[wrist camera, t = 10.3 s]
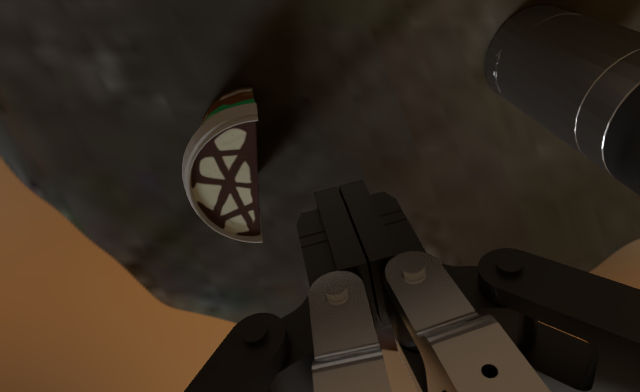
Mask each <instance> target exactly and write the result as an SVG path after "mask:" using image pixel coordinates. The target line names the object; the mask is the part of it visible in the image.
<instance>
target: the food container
mask: <svg viewBox="0 0 640 392" xmlns="http://www.w3.org/2000/svg"><path fill="white" fill-rule="evenodd" d="M256 121H258V112H257V104H256V103H255V100H254V95H253V90H252V87H245V88H238V89H236V90H233V91H231V92H228V93H225V94H223V95H222V96H221V97H220V98H218V99H217V100H216V101H215V102H214V103H212V104H211V106H210V107H209V109H208V111H207V112H206V114H205V116H204V117H203V121H202V124H201V127H200V128H199V129H198V130H197V131H196V133H195V134H194V135H193V136H192V138H191V140H190V142H189V144H188V145H187V148H186V151H185V154H184V157H183V163H182V178H183V182H184V187H185V190H186V193H187V196H188V199H189V201H190V203H191V206H192V207H193V209H194V210H195V212H196V213H197V214H198V216H199V217H200V218H201V219H202V220H203V221H204V222H205V223H206V224H207V225H208V226H209V227H211V228H212V229H213V230H215V231H216V232H218V233H220V234H222V235H224V236H226V237H229V238H231V239H234V240H238V241H242V242H251V243H263V240H262V231H261V221H260V212H259V210H260V208H259V187H258V173H259V172H258V163H257V152H258V150H257V132H256Z"/></svg>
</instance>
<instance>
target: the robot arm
mask: <svg viewBox="0 0 640 392" xmlns="http://www.w3.org/2000/svg"><path fill="white" fill-rule="evenodd" d="M486 75H487V78H488V81H489V84H490V85H491V87H492V88H493V90H494V91H495V92H497V93H498V94H499V95H500V96H502V97H503V98H504V99H506V100H507V101H509V102H510V103H511V104H513V105H514V106H516V107H517V108H518V109H519V110H521V111H522V112H524V113H525V114H526V115H528V116H529V117H531V118H532V119H533V120H535V121H536V122H538V123H539V124H540V125H542V126H543V127H544V128H546V129H547V130H549V131H550V132H551V133H553V134H554V135H556V136H557V137H558V138H560V139H561V140H563V141H564V142H565V143H567V144H568V145H569V146H571V147H572V148H574V149H575V150H576V151H578V152H579V153H581V154H582V155H583V156H585V157H586V158H588V159H589V160H591V161H592V162H593V163H595V164H596V165H598V166H599V167H600V168H602V169H603V170H605V171H606V172H607V173H609V174H610V175H611V176H613V177H614V178H616V179H617V180H618V181H620V182H621V183H623V184H624V185H626V186H627V187H629V188H630V189H631V190H633V191H634V192H636V193H637V194H638V195H640V32H638V31H635V30H632V29H629V28H626V27H623V26H620V25H617V24H614V23H610V22H607V21H604V20H601V19H598V18H595V17H592V16H589V15H586V14H583V13H580V12H577V11H575V12H569V11H566V10H563V9H560V8H557V7H554V6H550V5H537V6H533V7H529V8H527V9H524V10H522V11H520V12H518V13H517V14H515V15H514V16H513V17H511V18H510V19H509V20H508V21H507V22H506V23H505V24H504V25H503V26H502V27H501V28H500V29H499V31H498V32H497V34H496V35H495V36H494V38H493V40H492V42H491V44H490V46H489V50H488V53H487V57H486ZM314 196H315V200H316V204H317V208H318V209H316V210H312V211H308V212H305V213H301V215H300V218H299V220H298V223H297V230H298V234H299V238H300V243H301V248H302V252H303V257H304V261H305V266H306V270H307V275H308V279H309V285H310V289H309V293H308V296H307V298H306V300H305V301H304V302H303V304H302V305H301V306H300V307H299V308H297V309H296V310H295V311H293V312H292V313H290V314H288V315H286V316H285V317H283V318H281V319H280V318H279V317H278V316H276V315H273V314H270V313H258V314H253V315H251V316H248V317H246V318H244V319H243V320H241V321H240V322H239V323H237V324H236V325H235V326H234V327H233V329H232V330H231V331H230V332H229V334H228V335H227V337H226V338H225V339H224V340H223V342H222V343H221V344H220V345H219V347H218V348H217V349H216V351H215V352H214V353H213V355H212V356H211V357H210V358H209V360H208V361H207V362H206V364H205V365H204V366H203V368H202V369H201V370H200V371H199V373H198V374H197V375H196V377H195V378H194V379H193V380H192V382H191V383H190V384H189V386H188V387H187V388H186V390H185V391H184V392H392V391H391V387H390V383H389V379H388V375H387V371H386V367H385V363H384V359H383V355H382V351H381V348H380V346H379V342H378V338H377V333H376V328H379V323H378V318H379V320H380V323H381V326H382V327H383V326H386V325H390V324H391V326H392V328H393V331H394V334H395V338H396V344H397V349H398V351H399V353H400V356H401V357H402V360H403V362H404V364H405V366H406V368H407V370H408V372H409V374H410V376H411V378H412V380H413V382H414V384H415V386H416V388H417V390H418V392H640V289H637V288H633V287H630V286H627V285H624V284H621V283H618V282H615V281H612V280H609V279H606V278H603V277H600V276H597V275H594V274H591V273H588V272H585V271H582V270H579V269H576V268H573V267H570V266H567V265H564V264H561V263H558V262H555V261H552V260H549V259H546V258H543V257H540V256H537V255H534V254H531V253H528V252H525V251H521V250H518V249H512V248H502V249H496V250H493V251H490V252H488V253H487V254H485V255H484V256H483V257H482V258H481V259H480V261H479V264H478V266H462V267H459V266H449V265H445V264H442V263H440V261H439V260H438V259H437V258H436V257H434V256H433V255H431V254H428V253H426V251H425V249H424V248H423V246H422V244H421V242H420V241H419V239H418V237H417V235H416V234H415V232H414V230H413V228H412V227H411V225H410V223H409V221H407V218H406V216H405V214H404V213H403V212H402V209H401V207H400V206H399V204H398V202H397V200H396V199H395V198H393V197H392V196H390V195H389V194H387V193H385V192H380V193H376V194H372V195H370V194H369V192H368V190H367V188H366V186H365V184H364V182H363V180H360V181H357V182H353V183H349V184H345V185H341V186H339V190H338V187H334V188H330V189H327V190H323V191H319V192H315V193H314ZM377 315H378V317H377ZM538 321H540V322H543V323H545V324H548V325H550V326H553V327H555V328H557V329H560V330H562V331H565V332H567V333H569V334H572V335H574V336H576V337H579V338H581V339H583V340H585V341H587V342H589V343H590V344H589V343H587V342H584V341H582V340H580V339H577V338H575V337H572V336H570V335H568V334H566V333H563V332H561V331H558V330H556V329H554V328H551V327H549V326H546V325H544V324H541V323H539V322H538Z"/></svg>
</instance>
